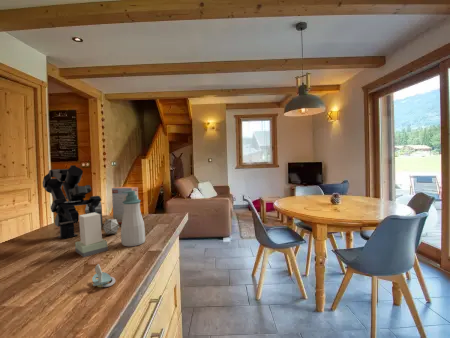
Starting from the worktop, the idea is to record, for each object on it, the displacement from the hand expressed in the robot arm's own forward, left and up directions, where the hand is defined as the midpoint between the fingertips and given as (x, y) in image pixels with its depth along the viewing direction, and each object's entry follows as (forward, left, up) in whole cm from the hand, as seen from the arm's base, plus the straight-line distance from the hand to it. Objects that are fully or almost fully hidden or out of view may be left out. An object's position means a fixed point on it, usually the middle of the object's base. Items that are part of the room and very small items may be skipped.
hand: (83, 219), depth 106 cm
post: (+9, -2, -8) cm, 12 cm away
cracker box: (-16, +34, -12) cm, 40 cm away
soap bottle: (+17, +12, -12) cm, 24 cm away
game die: (-4, +16, -12) cm, 21 cm away
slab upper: (+8, -2, -10) cm, 13 cm away
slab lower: (+8, -2, -12) cm, 15 cm away
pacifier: (+38, -16, -12) cm, 43 cm away
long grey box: (-31, +24, -12) cm, 41 cm away
